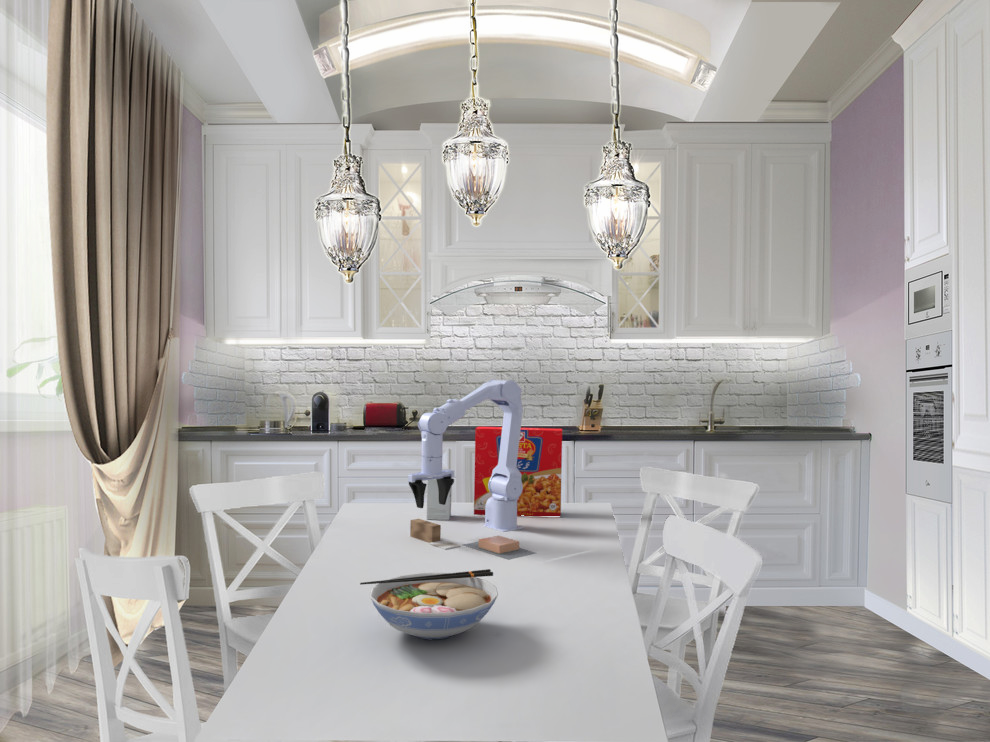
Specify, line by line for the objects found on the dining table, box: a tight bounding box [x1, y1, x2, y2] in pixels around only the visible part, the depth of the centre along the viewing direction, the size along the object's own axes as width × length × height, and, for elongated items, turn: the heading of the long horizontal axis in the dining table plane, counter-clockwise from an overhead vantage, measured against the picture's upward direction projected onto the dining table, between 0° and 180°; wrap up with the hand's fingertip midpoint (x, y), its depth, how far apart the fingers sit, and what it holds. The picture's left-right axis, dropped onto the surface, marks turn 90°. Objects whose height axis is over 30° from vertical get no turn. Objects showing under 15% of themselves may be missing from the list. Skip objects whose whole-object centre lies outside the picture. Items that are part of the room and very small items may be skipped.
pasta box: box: [473, 426, 563, 517], centre depth 225 cm, size 28×8×28 cm, turn 85°
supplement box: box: [426, 477, 453, 521], centre depth 217 cm, size 7×7×13 cm
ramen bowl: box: [359, 568, 499, 641], centre depth 122 cm, size 25×23×8 cm
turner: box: [409, 518, 461, 551], centre depth 185 cm, size 17×5×5 cm, turn 42°
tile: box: [478, 535, 520, 554], centre depth 178 cm, size 2×7×8 cm
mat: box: [462, 540, 537, 561], centre depth 179 cm, size 18×10×1 cm, turn 42°
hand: (431, 505), depth 188 cm, fingers open, 7 cm apart
